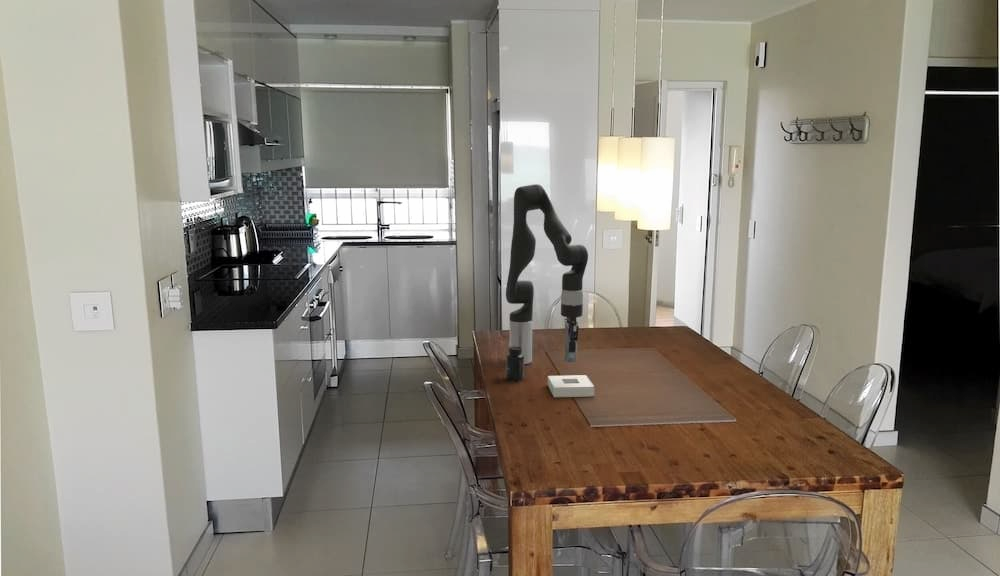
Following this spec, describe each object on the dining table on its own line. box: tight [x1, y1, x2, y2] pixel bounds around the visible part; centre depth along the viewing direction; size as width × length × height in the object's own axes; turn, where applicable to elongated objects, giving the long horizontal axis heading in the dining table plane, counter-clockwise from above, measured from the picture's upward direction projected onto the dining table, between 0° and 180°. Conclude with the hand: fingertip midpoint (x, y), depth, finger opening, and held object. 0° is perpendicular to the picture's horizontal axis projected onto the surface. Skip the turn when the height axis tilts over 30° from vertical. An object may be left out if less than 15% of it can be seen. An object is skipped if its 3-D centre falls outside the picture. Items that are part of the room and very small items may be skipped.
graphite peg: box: [563, 326, 578, 363], centre depth 255 cm, size 4×4×12 cm
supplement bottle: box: [505, 346, 525, 382], centre depth 271 cm, size 7×7×12 cm
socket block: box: [547, 374, 595, 398], centre depth 257 cm, size 14×14×4 cm
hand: (570, 350), depth 255 cm, fingers closed on graphite peg, 4 cm apart
